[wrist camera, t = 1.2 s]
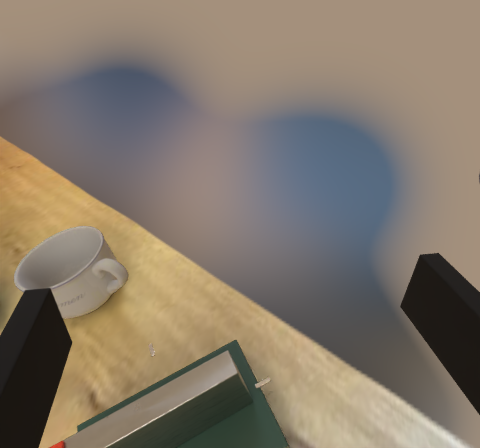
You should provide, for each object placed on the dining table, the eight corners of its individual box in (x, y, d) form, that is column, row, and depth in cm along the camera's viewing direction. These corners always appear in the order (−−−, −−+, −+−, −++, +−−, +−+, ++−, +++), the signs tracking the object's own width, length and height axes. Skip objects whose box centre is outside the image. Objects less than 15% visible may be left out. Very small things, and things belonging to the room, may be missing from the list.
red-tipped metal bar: (243, 380, 30) (226, 348, 25) (253, 402, 28) (237, 371, 24) (91, 468, 27) (45, 447, 23) (93, 496, 26) (44, 479, 22)
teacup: (37, 313, 45) (-5, 276, 40) (94, 254, 51) (65, 216, 46) (106, 351, 38) (67, 314, 33) (162, 278, 45) (137, 237, 39)
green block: (236, 317, 38) (229, 302, 36) (334, 505, 25) (333, 498, 23) (80, 401, 35) (62, 389, 33) (97, 665, 22) (70, 675, 20)
